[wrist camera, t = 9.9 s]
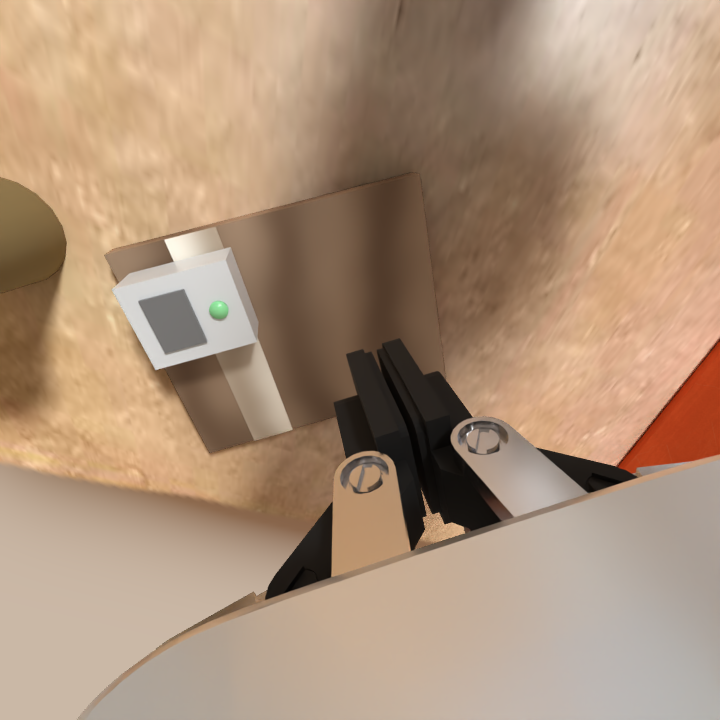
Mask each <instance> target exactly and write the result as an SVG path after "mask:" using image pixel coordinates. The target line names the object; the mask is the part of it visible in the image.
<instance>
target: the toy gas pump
mask: <svg viewBox="0 0 720 720" xmlns="http://www.w3.org/2000/svg"><path fill="white" fill-rule="evenodd" d="M719 454H720V341H719V342H718V343H717V345H716V346H715V347H714V348H713V350H712V351H711V352H710V353H709V355H708V356H707V357H706V358H705V359H704V361H703V362H702V363H701V364H700V366H699V367H698V368H697V369H696V371H695V372H694V373H693V374H692V376H691V377H690V378H689V379H688V381H687V382H686V383H685V384H684V385H683V387H682V388H681V389H680V390H679V392H678V393H677V394H676V395H675V397H674V398H673V399H672V400H671V402H670V403H669V404H668V405H667V406H666V408H665V409H664V410H663V411H662V413H661V414H660V415H659V416H658V418H657V419H656V420H655V421H654V423H653V424H652V425H651V426H650V428H649V429H648V430H647V431H646V432H645V434H644V435H643V436H642V437H641V439H640V440H639V441H638V442H637V444H636V445H635V446H634V447H633V449H632V450H631V451H630V452H629V453H628V455H627V456H626V457H625V458H624V460H623V461H622V462H621V463H620V465H619V466H618V468H621V469H624V470H627V471H628V472H630V473H636V468H638V467H647V466H656V465H665V464H673V463H682V462H691V461H696V460H699V459H703V458H707V457H711V456H715V455H719Z"/></svg>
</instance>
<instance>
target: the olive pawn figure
mask: <svg viewBox="0 0 720 720" xmlns="http://www.w3.org/2000/svg"><path fill="white" fill-rule="evenodd" d="M65 253H66V239H65V235H64V231H63V228H62V225H61V223H60V222H59V220H58V218H57V217H56V215H55V214H54V212H53V210H52V209H51V208H50V207H49V206H48V205H47V204H46V203H45V202H44V201H43V200H42V199H41V198H40V197H39V196H38V195H37V194H35V193H34V192H32V191H30V190H29V189H27V188H25V187H24V186H22V185H21V184H19V183H17V182H14V181H11V180H8V179H4V178H1V177H0V293H3V292H7V291H10V290H13V289H16V288H20V287H23V286H26V285H29V284H32V283H36V282H39V281H42V280H45V279H47V278H49V277H50V276H51V275H53V274H54V273H55V272H56V271H58V270H59V268H60V266H61V264H62V262H63V260H64V259H65Z"/></svg>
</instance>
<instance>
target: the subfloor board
mask: <svg viewBox="0 0 720 720" xmlns="http://www.w3.org/2000/svg"><path fill="white" fill-rule="evenodd" d="M229 247H231V250H232V252H233V255H234V258H235V260H236V263H237V266H238V269H239V271H240V274H241V277H242V279H243V282H244V285H245V287H246V290H247V293H248V295H249V298H250V301H251V304H252V306H253V309H254V312H255V314H256V317H257V320H258V322H259V323H258V336H257V342H256V343H252V344H248V345H245V346H241V347H238V348H234V349H230V350H227V351H223V352H219V353H216V354H212V355H209V356H205V357H201V358H198V359H194V360H190V361H187V362H183V363H180V364H176V365H172V366H169V367H165V370H166V372H167V374H168V376H169V378H170V380H171V382H172V383H173V385H174V387H175V389H176V391H177V393H178V395H179V397H180V398H181V400H182V402H183V404H184V406H185V408H186V410H187V412H188V413H189V415H190V417H191V419H192V421H193V423H194V425H195V427H196V428H197V430H198V432H199V434H200V436H201V438H202V440H203V442H204V443H205V445H206V447H207V449H208V451H209V453H212V452H215V451H219V450H222V449H226V448H229V447H233V446H236V445H239V444H243V443H246V442H250V441H253V440H254V441H257V440H260V439H263V438H267V437H270V436H274V435H277V434H281V433H284V432H287V431H291V430H293V429H294V428H298V427H301V426H305V425H308V424H312V423H315V422H318V421H322V420H325V419H329V418H332V417H336V412H335V408H334V402H335V401H339V400H342V399H345V398H349V397H352V396H355V395H357V392H356V389H355V385H354V382H353V378H352V375H351V371H350V368H349V364H348V361H347V357H346V354H347V353H351V352H354V351H357V350H361V349H363V350H364V352H365V353H367V352H372V354H373V356H374V358H375V360H376V362H377V364H378V366H379V368H380V364H379V360H378V356H377V349H381V348H382V343H385V342H388V341H391V340H395V339H398V338H400V339H401V341H402V342H403V344H404V345H405V347H406V348H407V350H408V352H409V353H410V355H411V356H412V358H413V359H414V361H415V362H416V364H417V365H418V367H419V369H420V370H421V372H422V373H423V375H425V374H428V373H431V372H435V371H439V372H440V373H441V374H442V376H443V377H444V378H445V380H446V376H445V368H444V360H443V352H442V344H441V336H440V329H439V321H438V313H437V305H436V297H435V289H434V281H433V273H432V265H431V257H430V249H429V241H428V234H427V226H426V218H425V210H424V202H423V194H422V186H421V178H420V174H418V173H413V172H412V173H408V174H404V175H401V176H397V177H393V178H389V179H385V180H381V181H377V182H373V183H369V184H365V185H361V186H358V187H354V188H350V189H346V190H342V191H338V192H334V193H330V194H326V195H322V196H319V197H315V198H311V199H307V200H303V201H299V202H295V203H291V204H287V205H283V206H280V207H276V208H272V209H268V210H264V211H260V212H256V213H252V214H248V215H244V216H240V217H237V218H233V219H229V220H225V221H221V222H217V223H213V224H209V225H205V226H201V227H198V228H194V229H190V230H186V231H182V232H178V233H174V234H170V235H166V236H162V237H158V238H155V239H151V240H147V241H143V242H139V243H135V244H131V245H127V246H123V247H119V248H116V249H112V250H111V251H109V252H108V253H106V254H105V255H104V256H105V258H106V260H107V261H108V263H109V265H110V267H111V269H112V271H113V273H114V275H115V276H116V278H117V280H118V282H120V281H122V280H123V279H124V278H125V277H126V276H127V275H128V274H129V273H133V272H137V271H141V270H144V269H148V268H152V267H156V266H160V265H164V264H167V263H171V262H175V261H179V260H183V259H187V258H190V257H194V256H198V255H202V254H206V253H210V252H214V251H217V250H221V249H225V248H229ZM380 371H381V368H380Z"/></svg>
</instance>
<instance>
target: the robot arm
mask: <svg viewBox="0 0 720 720" xmlns="http://www.w3.org/2000/svg"><path fill="white" fill-rule="evenodd" d="M377 356H378V360H379V364H380V368H381V371H380V368H379V366H378V364H377V362H376V360H375V358H374V356H373V354H372V352H367V353H365V352H364V350H363V349H361V350H357V351H354V352H351V353H347V354H346V357H347V361H348V364H349V368H350V371H351V375H352V378H353V382H354V385H355V389H356V392H357V395H355V396H352V397H349V398H345V399H342V400H339V401H335V402H334V408H335V412H336V416H337V420H338V425H339V429H340V433H341V438H342V442H343V446H344V450H345V455H346V459H345V460H344V461H343V462H342V463H341V464H340V465H339V467H338V468H337V470H336V471H335V475H334V479H333V502H332V503H331V504H330V506H329V507H328V508H327V509H326V511H325V512H324V513H323V514H322V516H321V517H320V518H319V520H318V521H317V522H316V523H315V525H314V526H313V527H312V529H311V530H310V531H309V532H308V534H307V535H306V536H305V538H304V539H303V540H302V541H301V543H300V544H299V545H298V546H297V548H296V549H295V550H294V552H293V553H292V554H291V555H290V557H289V558H288V559H287V561H286V562H285V563H284V565H283V566H282V567H281V568H280V569H279V571H278V572H277V573H276V575H275V576H274V578H273V580H272V581H271V583H270V584H269V586H268V590H267V591H265V592H263V593H261V594H259V595H258V596H256V594H255V593H254V592H252V593H250V594H249V595H247V596H245V597H243V598H242V599H240V600H238V601H236V602H234V603H233V604H231V605H229V606H227V607H225V608H224V609H222V610H220V611H218V612H217V613H215V614H213V615H211V616H209V617H208V618H206V619H204V620H202V621H201V622H199V623H197V624H195V625H194V626H192V627H190V628H188V629H186V630H185V631H183V632H181V633H179V634H177V635H176V636H174V637H172V638H170V639H169V640H167V641H166V642H164V643H163V644H162V645H161V646H159V647H158V648H156V650H154V651H153V652H151V653H150V654H149V655H147V656H146V657H144V658H143V659H142V660H141V661H139V662H138V663H136V664H135V665H134V666H132V667H131V668H129V669H128V670H127V671H125V672H124V673H123V674H121V675H120V676H119V677H118V678H117V679H116V680H114V681H113V682H112V683H111V684H110V685H109V686H108V687H107V688H106V689H104V690H103V691H102V692H101V693H100V694H99V695H98V696H97V697H96V698H95V699H94V700H93V701H92V702H91V703H90V705H89V706H88V707H87V708H86V709H85V711H83V713H82V714H81V715H80V716H79V717H78V719H77V720H720V454H719V455H715V456H711V457H707V458H703V459H699V460H696V461H691V462H682V463H673V464H665V465H656V466H647V467H638V468H636V473H630V472H628V471H627V470H624V469H621V468H618V467H615V466H612V465H607V464H603V463H599V462H595V461H591V460H586V459H582V458H578V457H574V456H569V455H565V454H561V453H557V452H552V451H548V450H544V449H540V448H536V447H534V446H533V445H532V444H531V443H529V442H528V441H527V440H526V439H525V438H524V437H523V436H521V435H520V434H519V433H518V432H517V431H516V430H514V429H513V428H512V427H511V426H510V425H508V424H507V423H505V422H504V421H502V420H499V419H496V418H493V417H484V416H483V417H472V416H471V414H470V413H469V412H468V410H467V409H466V407H465V406H464V405H463V403H462V402H461V401H460V399H459V398H458V396H457V395H456V394H455V392H454V391H453V389H452V388H451V387H450V385H449V384H448V383H447V381H446V380H445V378H444V377H443V376H442V374H441V373H440V372H439V371H435V372H431V373H428V374H425V375H423V373H422V372H421V370H420V369H419V367H418V365H417V364H416V362H415V361H414V359H413V358H412V356H411V355H410V353H409V352H408V350H407V348H406V347H405V345H404V344H403V342H402V341H401V339H400V338H398V339H395V340H391V341H388V342H385V343H382V348H381V349H377ZM421 489H422V492H423V494H424V496H425V499H426V501H427V503H428V506H429V508H430V510H431V512H432V514H435V513H438V512H439V513H440V515H441V517H442V519H443V522H444V524H448V523H451V522H453V523H455V524H458V525H461V526H463V527H464V531H465V534H462V535H458V536H455V537H452V538H449V539H446V540H443V541H440V542H437V543H434V544H431V545H428V546H425V547H422V548H419V549H416V547H415V546H416V545H417V543H418V541H419V539H420V537H421V536H422V534H423V532H424V530H425V527H424V522H423V518H422V517H425V516H426V510H425V506H424V501H423V497H422V492H421Z"/></svg>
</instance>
